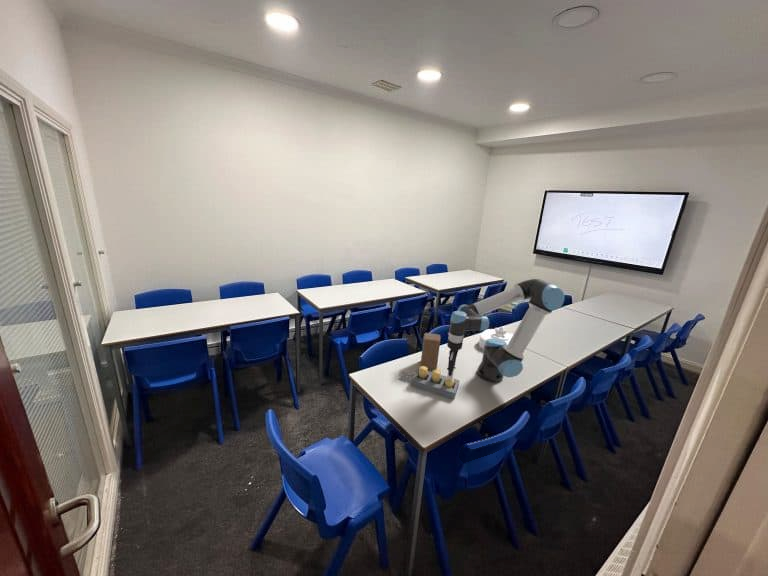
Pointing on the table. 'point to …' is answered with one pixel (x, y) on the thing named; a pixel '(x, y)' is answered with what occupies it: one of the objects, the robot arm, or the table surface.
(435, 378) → the button
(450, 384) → the button
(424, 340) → the wooden block
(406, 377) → the pattern tile
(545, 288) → the robot arm
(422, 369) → the button
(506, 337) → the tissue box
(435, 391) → the button board
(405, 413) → the table surface
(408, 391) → the table surface
